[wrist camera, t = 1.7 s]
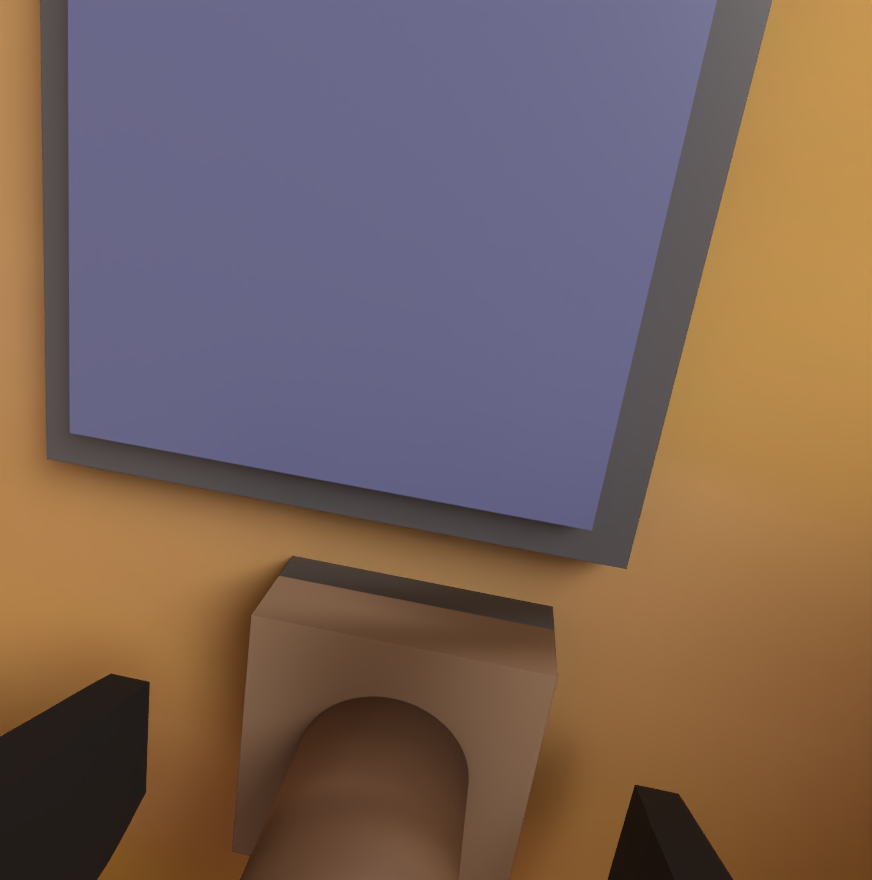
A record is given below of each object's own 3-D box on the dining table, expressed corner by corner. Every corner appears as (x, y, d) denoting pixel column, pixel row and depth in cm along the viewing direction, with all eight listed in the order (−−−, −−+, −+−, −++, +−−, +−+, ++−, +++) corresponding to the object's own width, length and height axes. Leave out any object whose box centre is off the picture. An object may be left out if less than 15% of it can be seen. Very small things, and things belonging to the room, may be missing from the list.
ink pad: (789, -132, 9) (832, -192, 7) (619, 545, 11) (631, 585, 10) (76, -216, 9) (7, -284, 8) (77, 443, 12) (25, 468, 11)
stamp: (552, 604, 12) (573, 915, 6) (505, 813, 13) (490, 1214, 8) (294, 553, 12) (114, 810, 7) (273, 763, 13) (108, 1115, 8)
